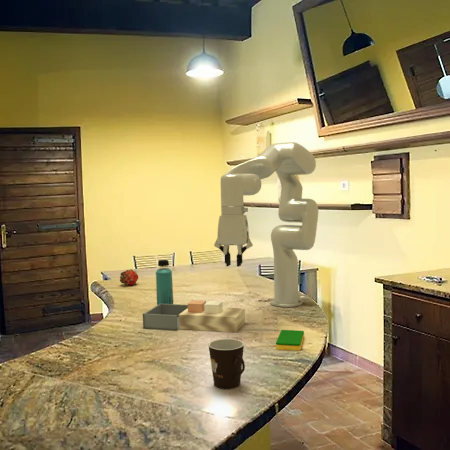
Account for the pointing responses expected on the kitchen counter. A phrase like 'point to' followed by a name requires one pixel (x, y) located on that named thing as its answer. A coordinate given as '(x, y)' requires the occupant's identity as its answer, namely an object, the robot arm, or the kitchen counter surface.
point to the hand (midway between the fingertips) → (233, 265)
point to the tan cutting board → (213, 320)
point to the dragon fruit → (129, 277)
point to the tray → (163, 317)
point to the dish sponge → (290, 340)
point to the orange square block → (196, 306)
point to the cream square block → (213, 307)
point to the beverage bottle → (164, 284)
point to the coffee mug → (227, 362)
